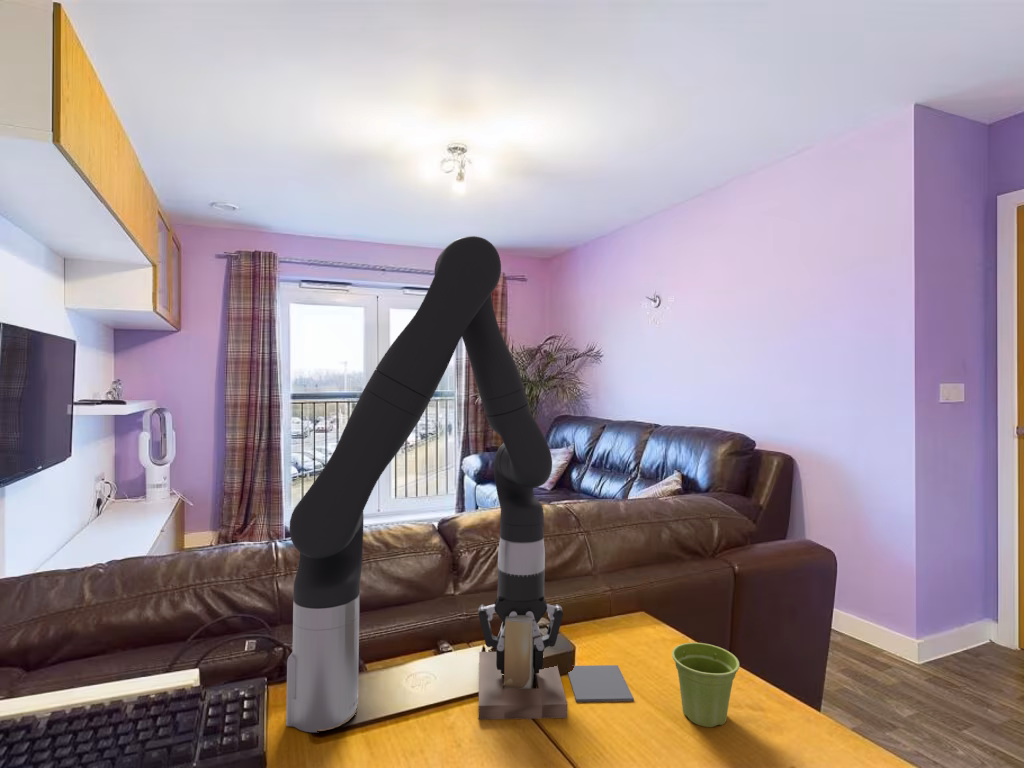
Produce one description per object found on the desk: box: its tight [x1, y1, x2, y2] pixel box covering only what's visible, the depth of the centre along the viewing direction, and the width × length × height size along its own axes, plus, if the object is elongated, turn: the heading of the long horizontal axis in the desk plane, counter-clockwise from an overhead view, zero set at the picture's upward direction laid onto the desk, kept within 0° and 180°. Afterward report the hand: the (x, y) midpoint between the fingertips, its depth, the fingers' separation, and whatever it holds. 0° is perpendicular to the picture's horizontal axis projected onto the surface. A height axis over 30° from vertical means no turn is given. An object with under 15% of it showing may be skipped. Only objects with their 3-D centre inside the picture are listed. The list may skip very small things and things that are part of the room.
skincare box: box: [503, 615, 535, 689], centre depth 87 cm, size 6×4×12 cm
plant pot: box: [671, 642, 740, 728], centre depth 81 cm, size 9×9×9 cm
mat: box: [567, 664, 635, 703], centre depth 89 cm, size 9×10×1 cm
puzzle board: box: [478, 651, 568, 720], centre depth 87 cm, size 13×16×2 cm
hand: (519, 670), depth 87 cm, fingers closed on skincare box, 4 cm apart
